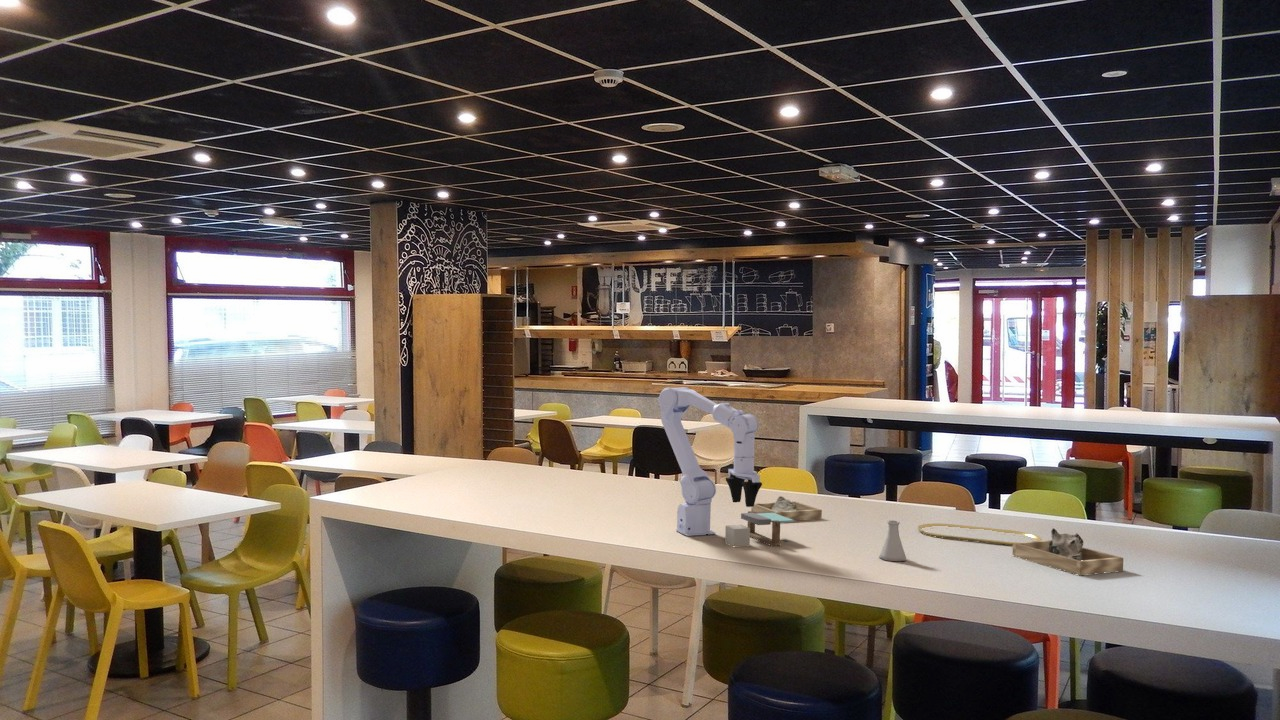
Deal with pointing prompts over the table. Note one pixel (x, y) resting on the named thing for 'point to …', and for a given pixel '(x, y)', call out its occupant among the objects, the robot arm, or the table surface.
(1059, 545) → the grey lumpy piece
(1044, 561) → the shallow wooden tray
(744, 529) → the light grey cube
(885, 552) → the flask
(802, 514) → the square wooden tray
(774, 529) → the frame
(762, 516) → the trapdoor
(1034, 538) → the serving platter
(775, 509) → the rock sample
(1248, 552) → the table surface
